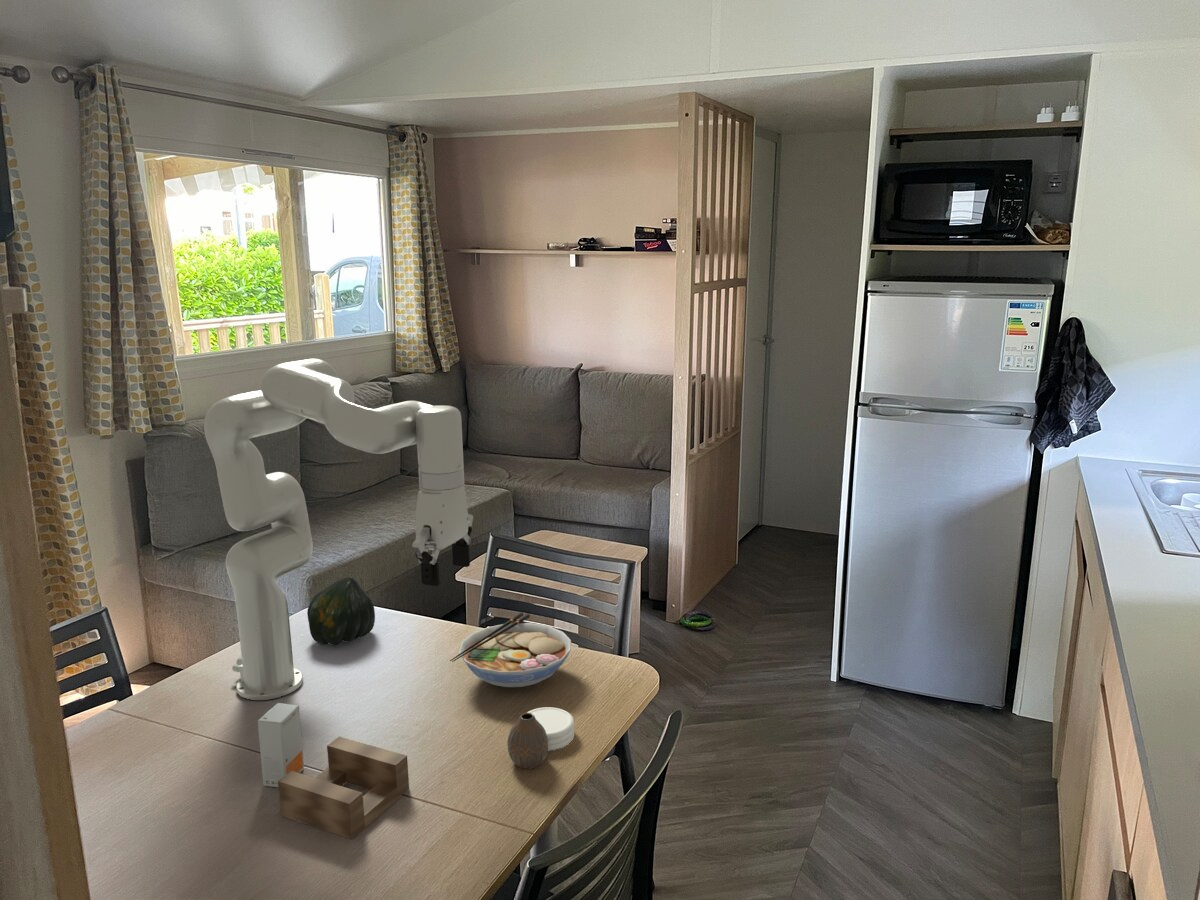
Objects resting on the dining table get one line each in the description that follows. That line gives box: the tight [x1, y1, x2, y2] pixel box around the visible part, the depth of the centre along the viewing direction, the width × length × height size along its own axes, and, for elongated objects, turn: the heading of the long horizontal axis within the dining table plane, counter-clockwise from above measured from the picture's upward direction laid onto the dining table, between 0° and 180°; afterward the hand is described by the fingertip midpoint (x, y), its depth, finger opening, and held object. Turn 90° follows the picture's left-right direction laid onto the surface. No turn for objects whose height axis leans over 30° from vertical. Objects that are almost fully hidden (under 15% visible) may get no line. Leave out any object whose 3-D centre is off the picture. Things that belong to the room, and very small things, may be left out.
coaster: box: [526, 706, 575, 752], centre depth 161 cm, size 10×10×4 cm
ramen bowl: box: [449, 612, 572, 688], centre depth 181 cm, size 25×23×8 cm
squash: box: [306, 576, 376, 646], centre depth 201 cm, size 14×15×15 cm
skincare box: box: [257, 702, 305, 788], centre depth 148 cm, size 6×4×12 cm
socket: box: [277, 736, 410, 840], centre depth 142 cm, size 14×14×6 cm
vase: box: [506, 712, 548, 770], centre depth 152 cm, size 7×7×9 cm
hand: (446, 574), depth 154 cm, fingers open, 9 cm apart
